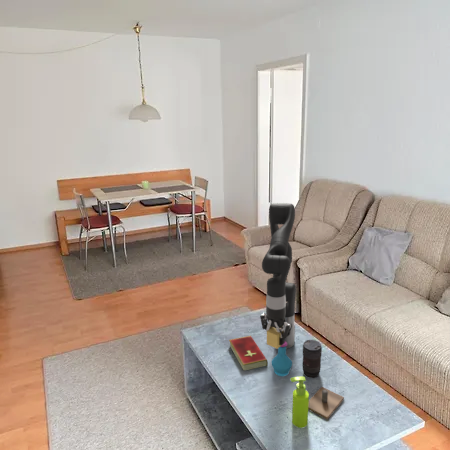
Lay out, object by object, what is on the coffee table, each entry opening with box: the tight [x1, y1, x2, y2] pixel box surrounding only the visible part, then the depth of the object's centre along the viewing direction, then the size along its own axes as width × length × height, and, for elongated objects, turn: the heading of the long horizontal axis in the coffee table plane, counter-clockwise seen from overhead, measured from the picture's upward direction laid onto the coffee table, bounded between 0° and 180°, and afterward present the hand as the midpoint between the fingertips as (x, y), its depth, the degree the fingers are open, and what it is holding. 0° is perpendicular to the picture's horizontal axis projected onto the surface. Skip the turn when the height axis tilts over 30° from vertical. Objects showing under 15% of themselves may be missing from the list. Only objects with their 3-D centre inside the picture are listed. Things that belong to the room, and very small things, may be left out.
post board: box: [308, 386, 345, 420], centre depth 163 cm, size 14×10×6 cm
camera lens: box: [302, 339, 323, 379], centre depth 179 cm, size 8×8×15 cm
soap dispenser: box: [290, 375, 310, 429], centre depth 152 cm, size 6×7×20 cm
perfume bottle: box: [271, 342, 293, 377], centre depth 181 cm, size 9×9×15 cm
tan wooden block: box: [266, 327, 285, 350], centre depth 161 cm, size 5×5×6 cm
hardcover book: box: [228, 335, 269, 371], centre depth 195 cm, size 12×21×4 cm, turn 17°
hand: (275, 341), depth 162 cm, fingers closed on tan wooden block, 5 cm apart
